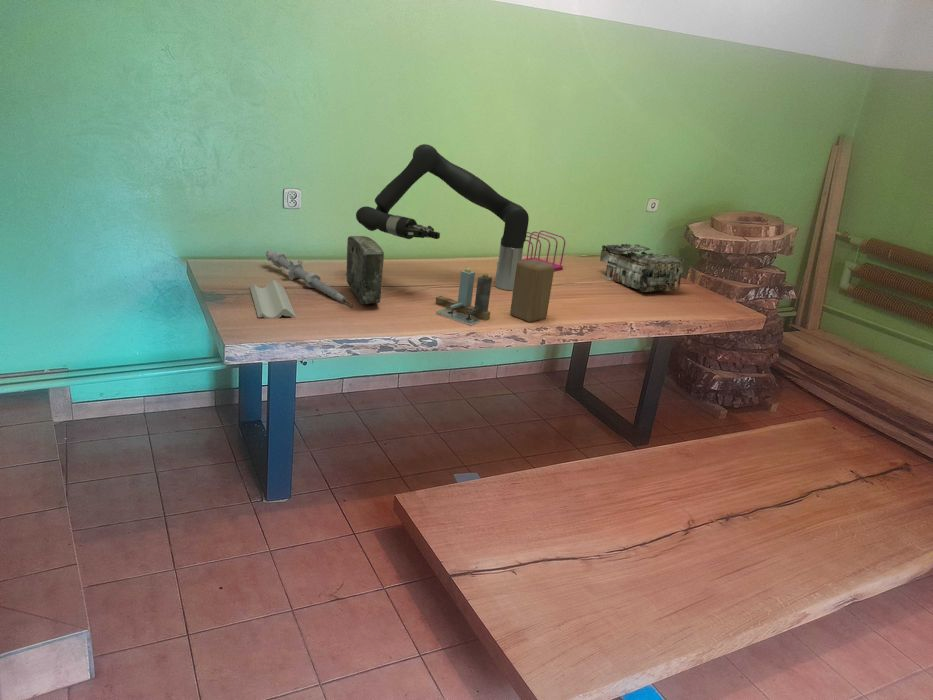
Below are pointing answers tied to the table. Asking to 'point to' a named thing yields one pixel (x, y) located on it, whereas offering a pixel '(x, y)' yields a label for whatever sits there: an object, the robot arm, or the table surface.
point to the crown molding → (271, 301)
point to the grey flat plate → (458, 316)
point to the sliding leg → (465, 289)
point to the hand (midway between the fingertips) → (438, 236)
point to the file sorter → (556, 266)
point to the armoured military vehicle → (641, 268)
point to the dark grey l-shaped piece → (480, 300)
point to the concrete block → (364, 268)
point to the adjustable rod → (303, 275)
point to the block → (532, 290)
